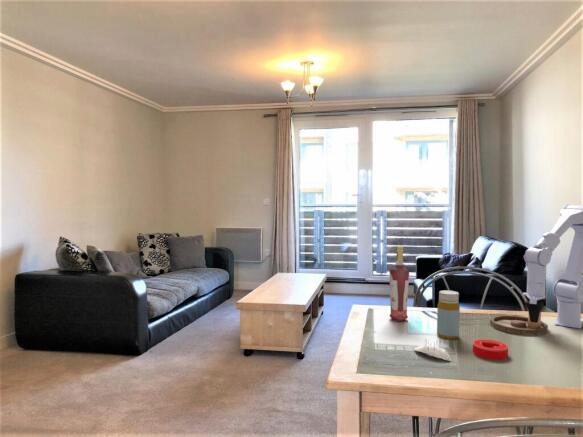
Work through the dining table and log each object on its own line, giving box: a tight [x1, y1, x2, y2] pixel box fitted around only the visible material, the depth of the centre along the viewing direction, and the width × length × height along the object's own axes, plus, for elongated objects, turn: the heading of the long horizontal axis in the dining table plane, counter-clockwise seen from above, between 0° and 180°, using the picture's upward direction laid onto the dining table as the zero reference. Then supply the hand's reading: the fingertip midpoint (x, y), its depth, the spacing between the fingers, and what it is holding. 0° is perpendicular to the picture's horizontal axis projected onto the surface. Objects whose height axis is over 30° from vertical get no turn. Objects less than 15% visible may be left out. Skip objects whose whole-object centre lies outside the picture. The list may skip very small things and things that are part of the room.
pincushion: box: [414, 338, 452, 362], centre depth 131 cm, size 12×6×6 cm, turn 39°
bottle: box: [436, 289, 461, 340], centre depth 149 cm, size 7×7×15 cm
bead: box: [527, 311, 542, 329], centre depth 156 cm, size 4×4×6 cm
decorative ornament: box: [472, 339, 509, 361], centre depth 133 cm, size 10×10×3 cm
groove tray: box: [489, 314, 549, 336], centre depth 160 cm, size 18×18×2 cm
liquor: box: [389, 245, 410, 322], centre depth 168 cm, size 7×7×28 cm
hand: (535, 320), depth 156 cm, fingers open, 5 cm apart
